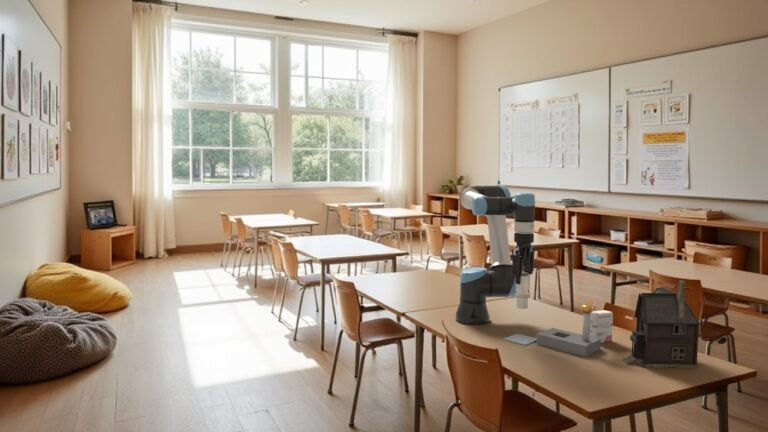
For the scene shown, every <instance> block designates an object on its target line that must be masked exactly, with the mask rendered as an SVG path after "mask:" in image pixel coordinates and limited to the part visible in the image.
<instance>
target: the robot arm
mask: <svg viewBox="0 0 768 432" xmlns="http://www.w3.org/2000/svg"><path fill="white" fill-rule="evenodd" d="M535 196H536V195H535V194H534V193H532V192H531V193H530V192H517V193H516V194H515V195H514V196H512V195H511V192H510V189H509V188H508V187H507V186H505V185H500V184H499V185H498V184H497V185H471V186H468V187H466V188H465V189H463V190H462V191H461V192H460V194H459V198H458V199H459V200H458V201H459V203H460V205H461V206H462V207H463V208H464V209H466V210H471V212H472V214H473V216H479V217H481V216H485V217H486V219H487V226H488V227H487V229H488V238H489V247H490V249H489V251H490V259H491V260H490V261H491V265H490V266H489V268H488V270H487V268H485V267H479V266H477V267H469V268H465V269H463V270H461V272H460V274H459V275H460V276H459V277H460V278H459V305H458V307H457V309H456V313H455V321H457V322H458V323H463V324H465V325H466V324H467V325H483V324H487V323H489V322H490V320H491V319H490V317H491V316H490V314H489V309H488V306H487V298H513V297H515V293H517V292H520V293H522V292H523V276H522V272H528V273H529V276H528V292H529V291H530V285H531V283H530V282H531V275H533V273H534V271H535V270H534V269H535V252H536V247H535V246H532V244H533V243H535V235H534V232H535V215H536V214H535V212H536V209H535V208H536V207H535V206H536V197H535ZM506 216H514V225H513V226H514V228H513V229H514V235H513V242H514V243H516V245H515V249H512V250H510V245H509V243H510V242H509V235H508V227H507V226H508V225H507V217H506ZM510 251H511V252H510ZM511 255H512V257H511ZM511 258H512V259H511ZM511 260H512V262H511Z"/></svg>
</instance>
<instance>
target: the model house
mask: <svg viewBox="0 0 768 432" xmlns="http://www.w3.org/2000/svg"><path fill="white" fill-rule="evenodd" d="M685 283H686V281H685V280H678V289H677V292H675V291H672V290H671V289H668V288H667V287H663V286H661V287H656V288H655V290H654V291H653V292H641V293H639V292H638V296H637V301H636V306H635V311H634V316H633V317H634V318H636V321H635V322H636V328H635V331H631V333H632V334H631V335H630V336H629V340H630V341H631V354H629V356H628V355H627V356H626V357H624V358H622V359H621V360H622V361H623V363H624V364H626V365H634V366H643V367H644V368H673V369H675V368H683V369H685V368H687V369H689V368H690V369H691V368H692V369H698V366H699V365H698V353H699V352H698V350H699V349H698V348H699V342H700V340H699V333H700V331H699V330H700V325H701V324H702V323H700V322H699V320H698V319H697V317H696V315H695V314H694V312H693V311H692V309H691V307H690V306H689V305H688V303H687V296H686V295H687V294H686V291H685Z"/></svg>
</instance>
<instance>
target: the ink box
mask: <svg viewBox="0 0 768 432" xmlns="http://www.w3.org/2000/svg"><path fill="white" fill-rule="evenodd" d="M613 321H614V313H613V312H612V311H609V310H605V309H603V310H596V311H593V310H592V313H590V334H589V336H590V337H594V338H598V339H601V343H608V342H612V340H613V325H614V324H613Z"/></svg>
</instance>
